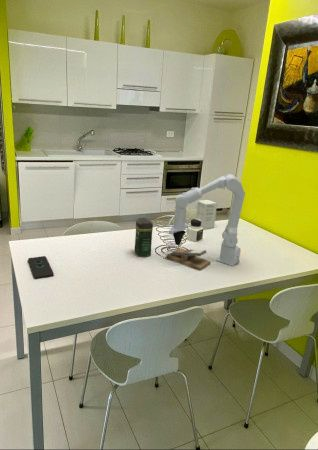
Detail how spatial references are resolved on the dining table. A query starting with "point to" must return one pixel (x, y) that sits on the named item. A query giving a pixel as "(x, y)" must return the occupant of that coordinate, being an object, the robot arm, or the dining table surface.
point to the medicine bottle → (195, 230)
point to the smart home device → (40, 267)
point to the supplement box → (206, 213)
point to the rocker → (189, 252)
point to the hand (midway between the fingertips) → (177, 244)
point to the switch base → (189, 261)
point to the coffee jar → (143, 237)
